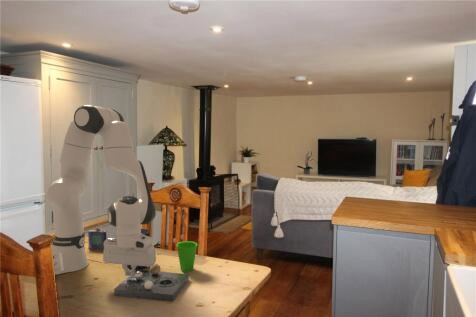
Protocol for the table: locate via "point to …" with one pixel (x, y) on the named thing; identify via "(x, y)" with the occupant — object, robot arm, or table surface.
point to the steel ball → (138, 275)
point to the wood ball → (155, 269)
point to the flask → (96, 239)
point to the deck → (162, 289)
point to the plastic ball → (148, 284)
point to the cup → (186, 255)
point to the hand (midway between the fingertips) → (129, 275)
